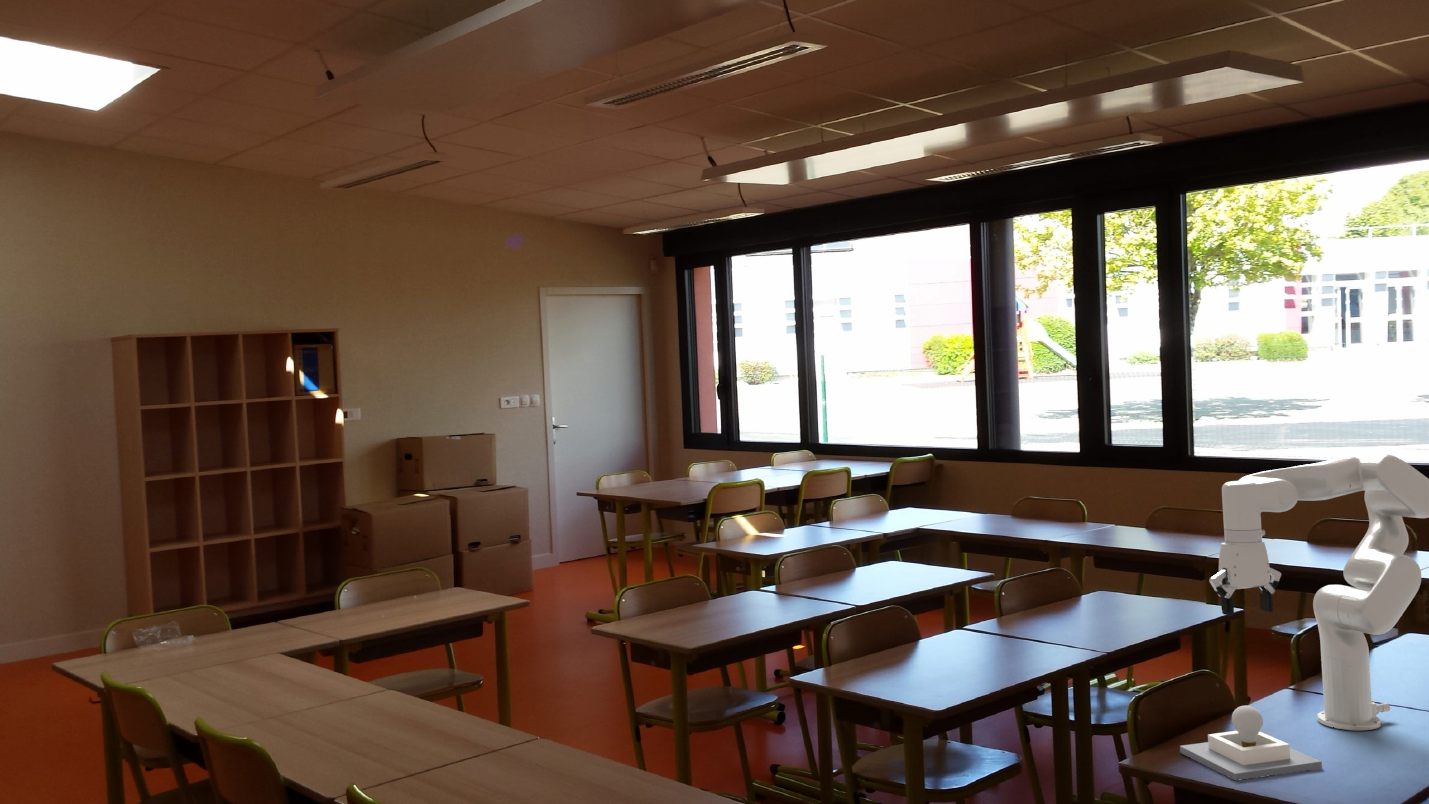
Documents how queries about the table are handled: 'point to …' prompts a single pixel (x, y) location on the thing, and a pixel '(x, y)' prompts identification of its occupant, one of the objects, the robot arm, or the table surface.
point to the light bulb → (1247, 724)
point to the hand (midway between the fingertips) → (1247, 612)
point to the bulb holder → (1249, 756)
